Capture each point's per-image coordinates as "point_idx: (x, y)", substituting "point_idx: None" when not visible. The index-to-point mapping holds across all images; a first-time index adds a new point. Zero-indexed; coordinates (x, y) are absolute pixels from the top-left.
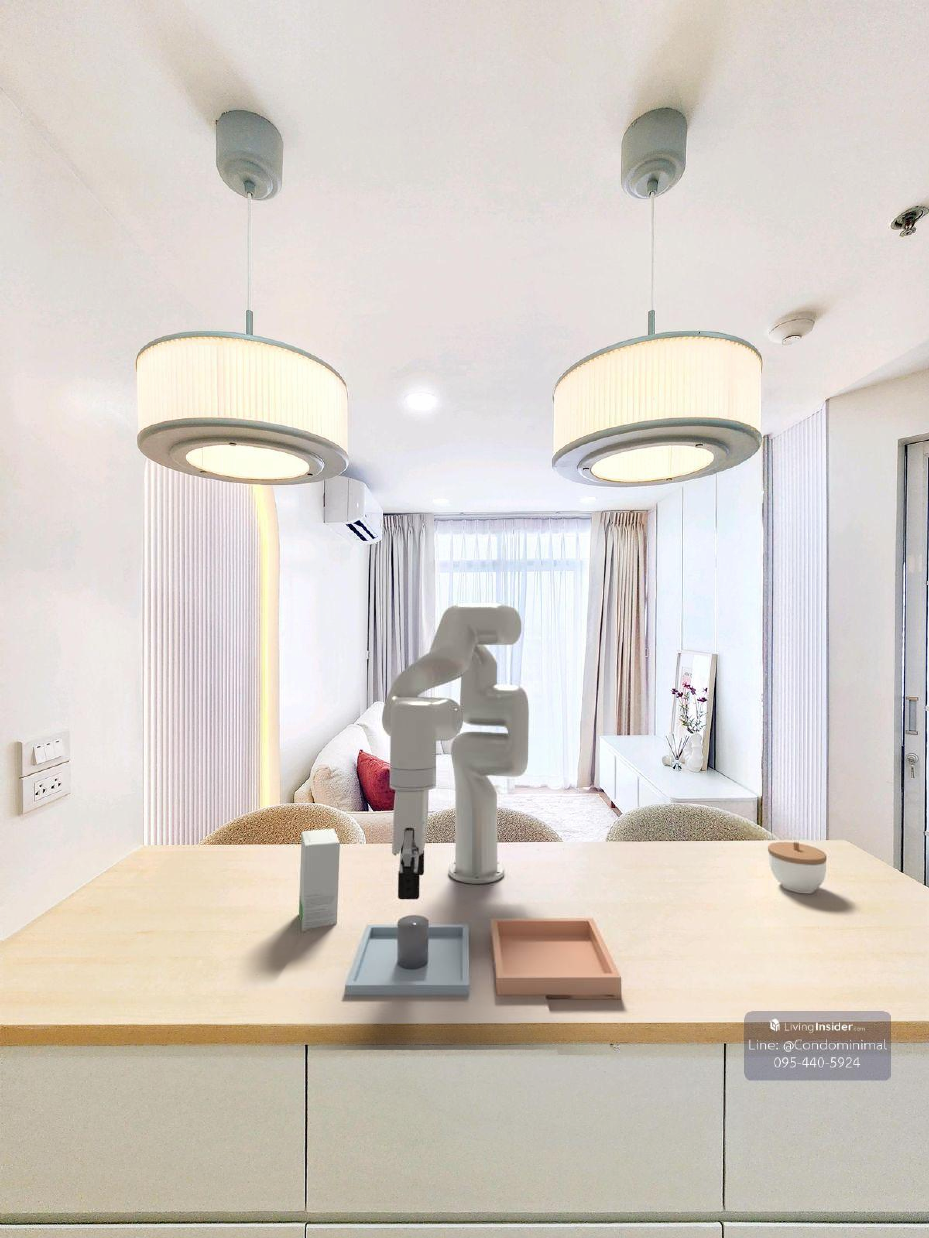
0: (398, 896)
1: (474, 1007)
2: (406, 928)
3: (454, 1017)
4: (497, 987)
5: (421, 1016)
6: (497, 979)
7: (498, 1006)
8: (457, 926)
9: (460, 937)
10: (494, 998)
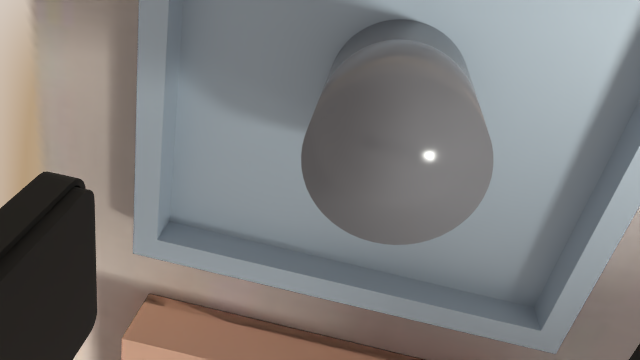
0: (40, 179)
1: (112, 229)
2: (329, 120)
3: (65, 166)
4: (135, 317)
5: (65, 68)
6: (123, 335)
7: (117, 286)
8: (555, 315)
9: (521, 296)
10: (153, 288)
